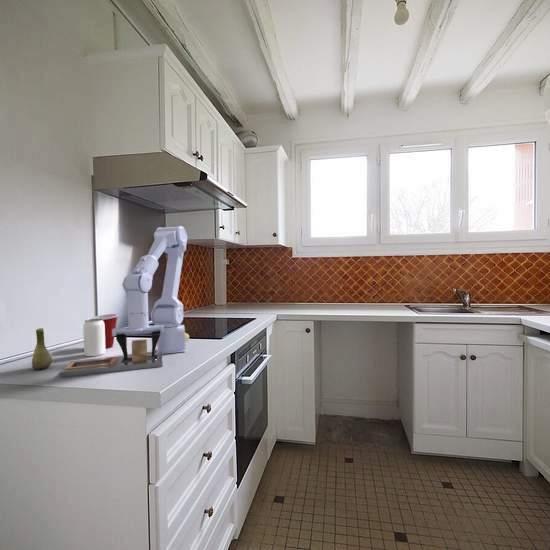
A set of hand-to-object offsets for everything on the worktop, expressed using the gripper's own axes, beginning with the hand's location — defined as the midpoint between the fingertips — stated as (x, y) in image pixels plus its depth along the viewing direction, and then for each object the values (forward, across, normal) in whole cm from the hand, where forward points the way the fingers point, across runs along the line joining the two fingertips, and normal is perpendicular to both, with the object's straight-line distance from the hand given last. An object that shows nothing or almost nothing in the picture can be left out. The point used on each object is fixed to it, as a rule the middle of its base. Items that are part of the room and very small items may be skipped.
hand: (139, 357), depth 102 cm
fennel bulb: (+2, -28, +7) cm, 28 cm away
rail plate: (+2, -6, 0) cm, 7 cm away
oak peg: (+2, 0, 0) cm, 2 cm away
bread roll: (+2, +12, +31) cm, 34 cm away
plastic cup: (+2, -14, +30) cm, 33 cm away
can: (+2, -16, +19) cm, 25 cm away
